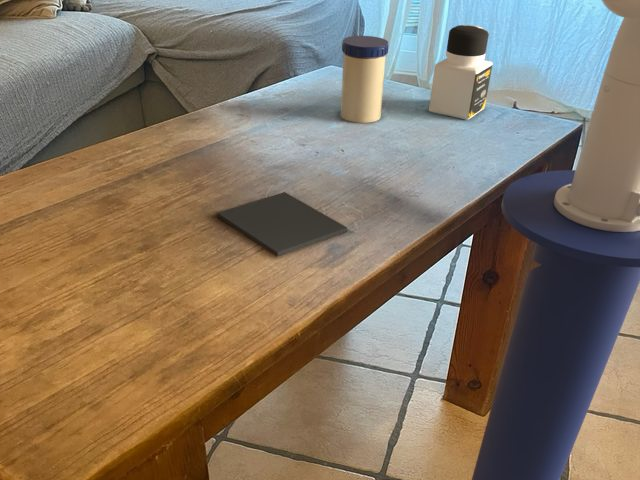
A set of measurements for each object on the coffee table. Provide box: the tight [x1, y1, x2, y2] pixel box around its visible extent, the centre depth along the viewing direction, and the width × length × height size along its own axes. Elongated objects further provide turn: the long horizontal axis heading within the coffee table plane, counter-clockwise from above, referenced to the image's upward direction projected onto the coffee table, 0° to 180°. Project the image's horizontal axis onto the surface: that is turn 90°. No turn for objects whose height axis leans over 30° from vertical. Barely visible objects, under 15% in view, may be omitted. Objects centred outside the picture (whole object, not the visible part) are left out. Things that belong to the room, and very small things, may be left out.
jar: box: [340, 53, 387, 124], centre depth 102 cm, size 6×6×10 cm
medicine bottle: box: [428, 24, 493, 121], centre depth 105 cm, size 7×7×12 cm
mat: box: [216, 191, 348, 257], centre depth 77 cm, size 12×10×1 cm
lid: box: [341, 35, 389, 58], centre depth 99 cm, size 7×7×1 cm
